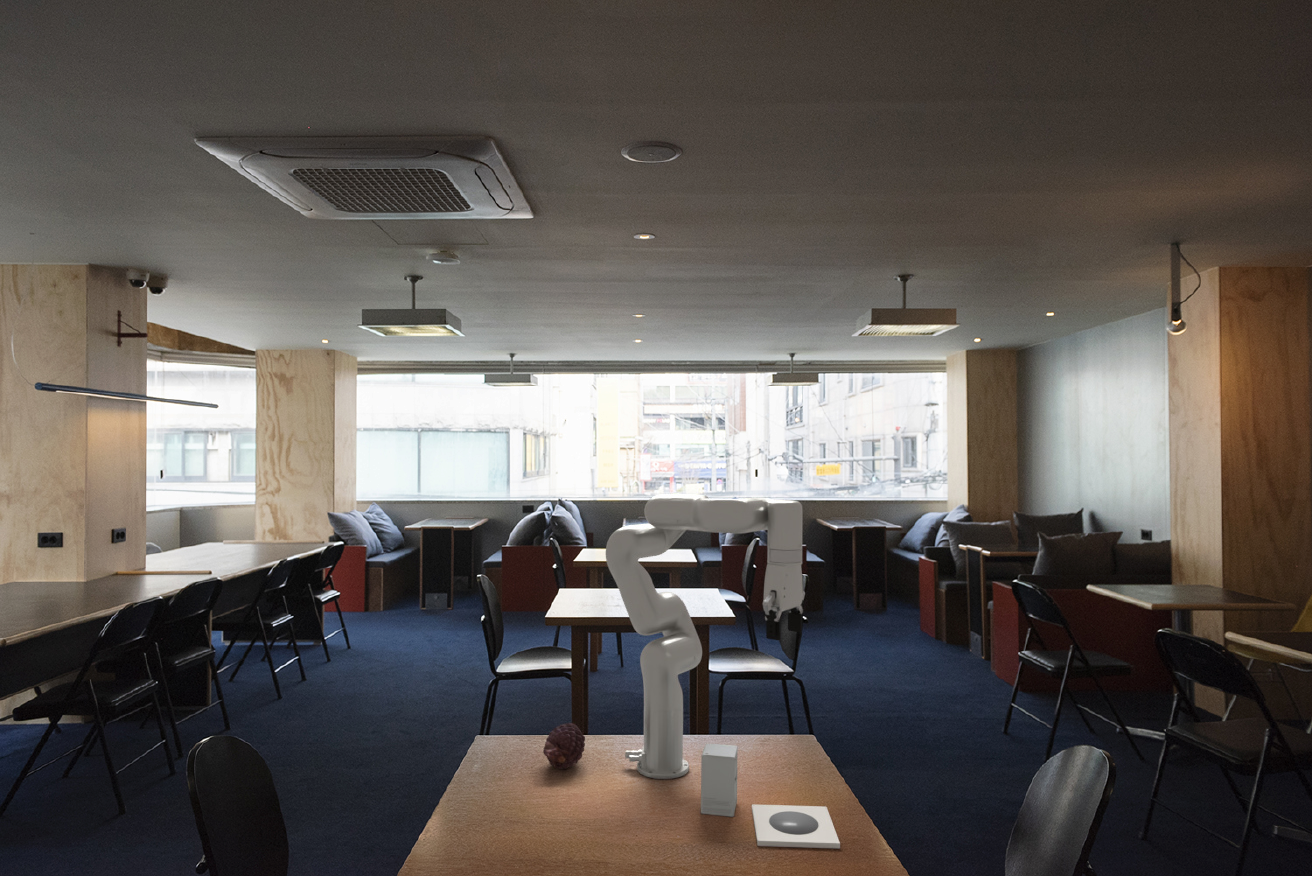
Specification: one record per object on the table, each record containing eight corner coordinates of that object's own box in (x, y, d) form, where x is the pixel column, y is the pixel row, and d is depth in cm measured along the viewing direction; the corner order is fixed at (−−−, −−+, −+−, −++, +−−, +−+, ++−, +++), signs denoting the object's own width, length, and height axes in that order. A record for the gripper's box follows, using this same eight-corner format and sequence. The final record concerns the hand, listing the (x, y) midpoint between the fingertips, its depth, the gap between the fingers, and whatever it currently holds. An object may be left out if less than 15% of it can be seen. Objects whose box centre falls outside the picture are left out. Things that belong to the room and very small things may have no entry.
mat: (757, 846, 156) (757, 840, 156) (751, 809, 172) (751, 804, 172) (839, 848, 155) (839, 843, 155) (826, 811, 171) (826, 806, 171)
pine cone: (556, 750, 205) (556, 711, 205) (593, 753, 203) (594, 714, 203) (534, 778, 187) (535, 735, 187) (575, 781, 186) (576, 738, 186)
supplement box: (734, 817, 168) (735, 757, 168) (699, 814, 169) (700, 754, 170) (738, 802, 175) (738, 745, 175) (704, 799, 177) (705, 742, 177)
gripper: (788, 551, 183) (787, 626, 183) (749, 559, 169) (749, 640, 169) (818, 554, 179) (817, 630, 178) (781, 562, 165) (780, 645, 165)
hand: (784, 635), depth 174 cm, fingers open, 9 cm apart
